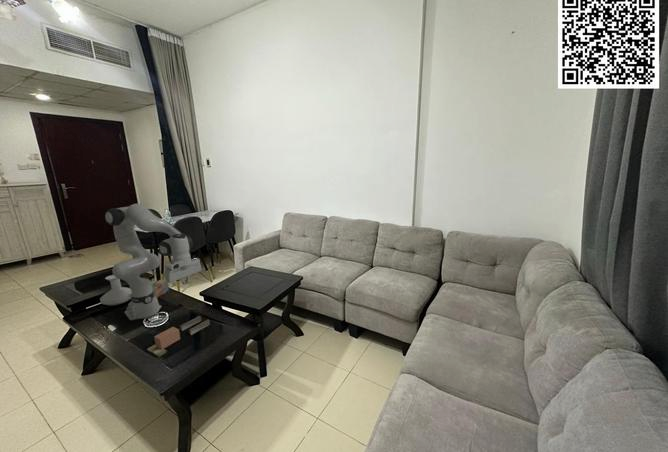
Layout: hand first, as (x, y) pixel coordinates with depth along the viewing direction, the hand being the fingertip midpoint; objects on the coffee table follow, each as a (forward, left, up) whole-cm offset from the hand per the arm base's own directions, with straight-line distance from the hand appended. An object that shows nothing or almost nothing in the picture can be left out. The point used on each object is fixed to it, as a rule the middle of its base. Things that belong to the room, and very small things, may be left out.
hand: (185, 283), depth 156 cm
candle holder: (-77, -6, -27) cm, 82 cm away
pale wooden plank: (+7, -10, -27) cm, 30 cm away
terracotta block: (+7, -18, -26) cm, 32 cm away
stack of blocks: (-61, +10, -27) cm, 67 cm away
